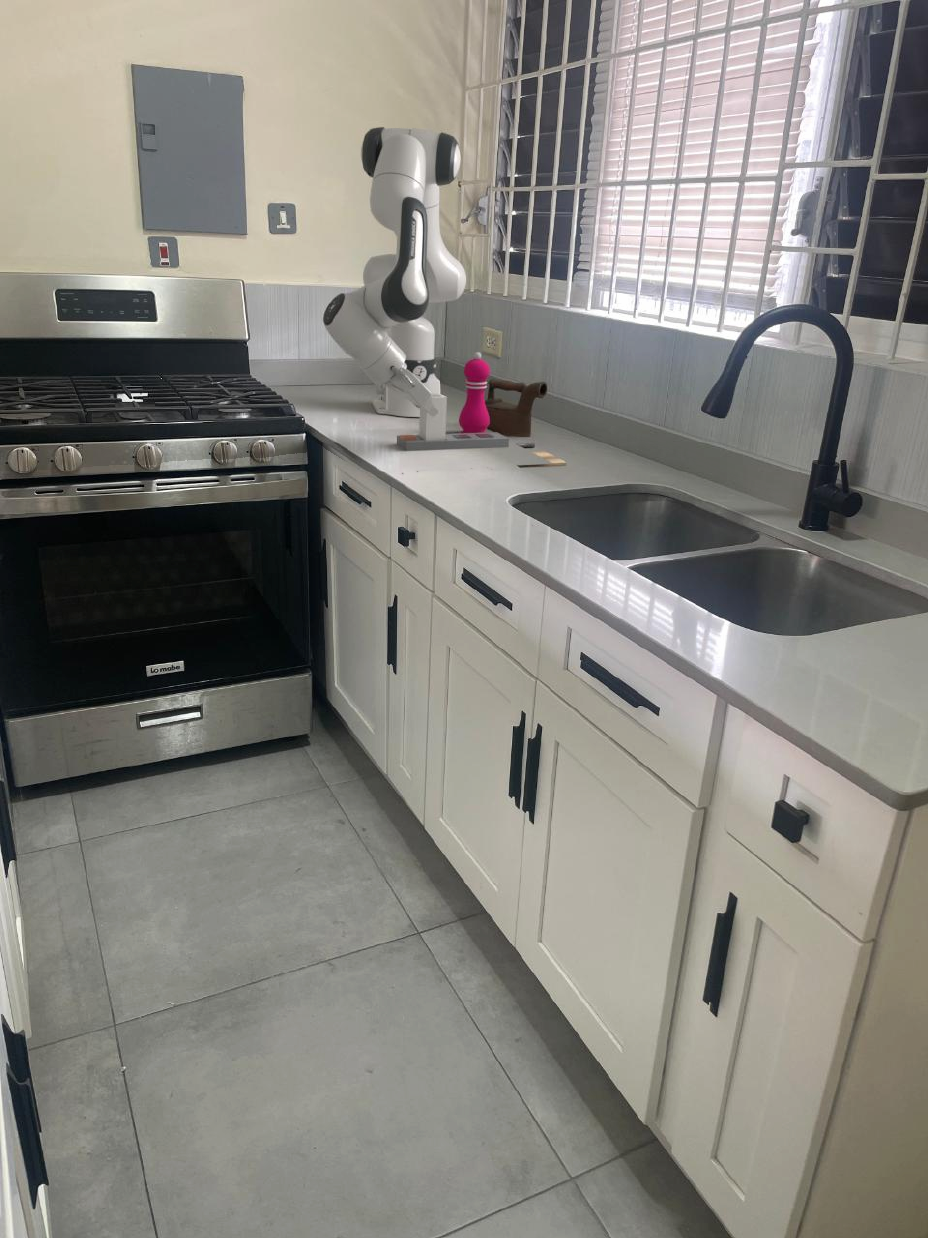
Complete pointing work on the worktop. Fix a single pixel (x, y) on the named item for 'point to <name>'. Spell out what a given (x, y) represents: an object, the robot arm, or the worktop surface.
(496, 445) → the power strip
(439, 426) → the block
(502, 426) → the clothes iron
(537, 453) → the tan flat angled piece
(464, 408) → the pepper mill
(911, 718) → the worktop surface
